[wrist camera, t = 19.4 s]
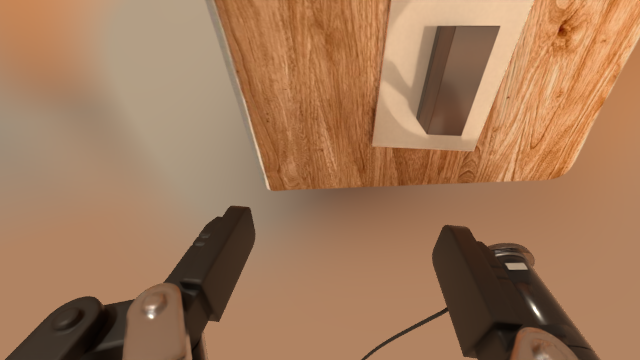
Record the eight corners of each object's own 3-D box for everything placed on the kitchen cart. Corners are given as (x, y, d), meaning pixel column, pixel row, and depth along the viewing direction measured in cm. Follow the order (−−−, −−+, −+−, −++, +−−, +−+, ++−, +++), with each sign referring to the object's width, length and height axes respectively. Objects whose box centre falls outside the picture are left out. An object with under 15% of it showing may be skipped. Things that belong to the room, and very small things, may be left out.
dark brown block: (445, 119, 33) (461, 136, 28) (415, 118, 33) (426, 134, 28) (473, 25, 27) (501, 25, 22) (437, 25, 27) (456, 25, 22)
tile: (469, 147, 36) (473, 151, 35) (371, 142, 38) (371, 146, 36) (535, -23, 25) (545, -26, 24) (392, -20, 26) (394, -22, 25)
